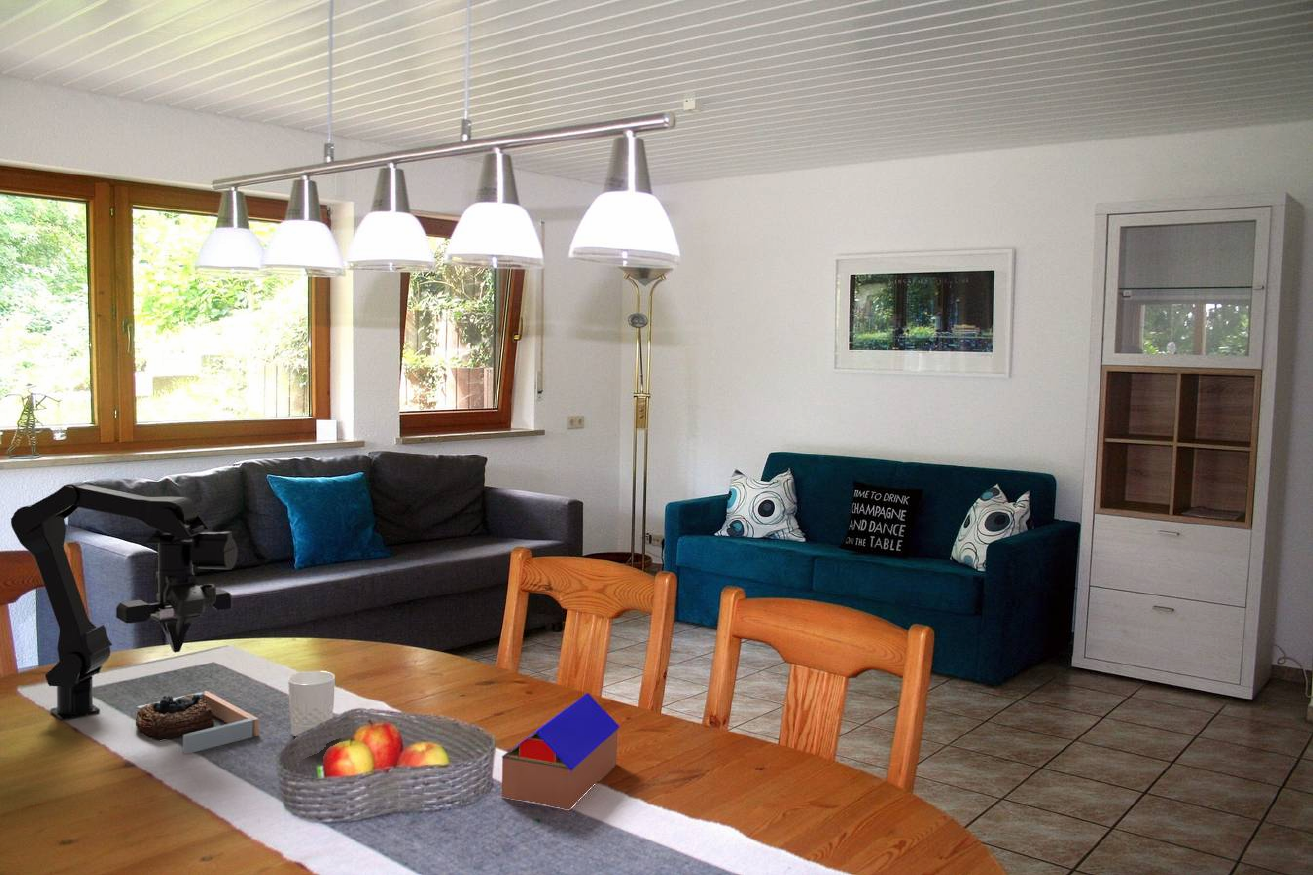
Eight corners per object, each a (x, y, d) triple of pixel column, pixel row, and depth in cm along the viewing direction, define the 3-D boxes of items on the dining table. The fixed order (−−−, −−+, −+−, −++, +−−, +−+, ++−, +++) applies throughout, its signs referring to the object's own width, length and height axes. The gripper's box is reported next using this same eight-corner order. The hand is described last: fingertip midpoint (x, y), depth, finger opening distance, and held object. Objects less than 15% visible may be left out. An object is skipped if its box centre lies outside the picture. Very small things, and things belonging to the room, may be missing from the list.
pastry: (221, 729, 184) (221, 697, 184) (150, 745, 176) (150, 712, 175) (198, 713, 192) (197, 682, 192) (129, 727, 184) (128, 695, 183)
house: (498, 800, 158) (500, 726, 158) (553, 754, 177) (555, 687, 176) (570, 813, 155) (572, 737, 154) (618, 765, 173) (620, 697, 172)
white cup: (320, 742, 179) (320, 686, 178) (279, 737, 180) (279, 682, 180) (342, 726, 187) (343, 672, 186) (303, 722, 188) (303, 668, 187)
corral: (137, 722, 186) (137, 706, 185) (206, 706, 195) (206, 690, 195) (186, 754, 172) (186, 736, 172) (258, 735, 181) (258, 718, 181)
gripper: (137, 582, 175) (137, 672, 176) (245, 568, 188) (245, 652, 190) (114, 571, 183) (115, 657, 184) (220, 558, 196) (220, 639, 197)
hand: (176, 651), depth 189 cm, fingers closed
